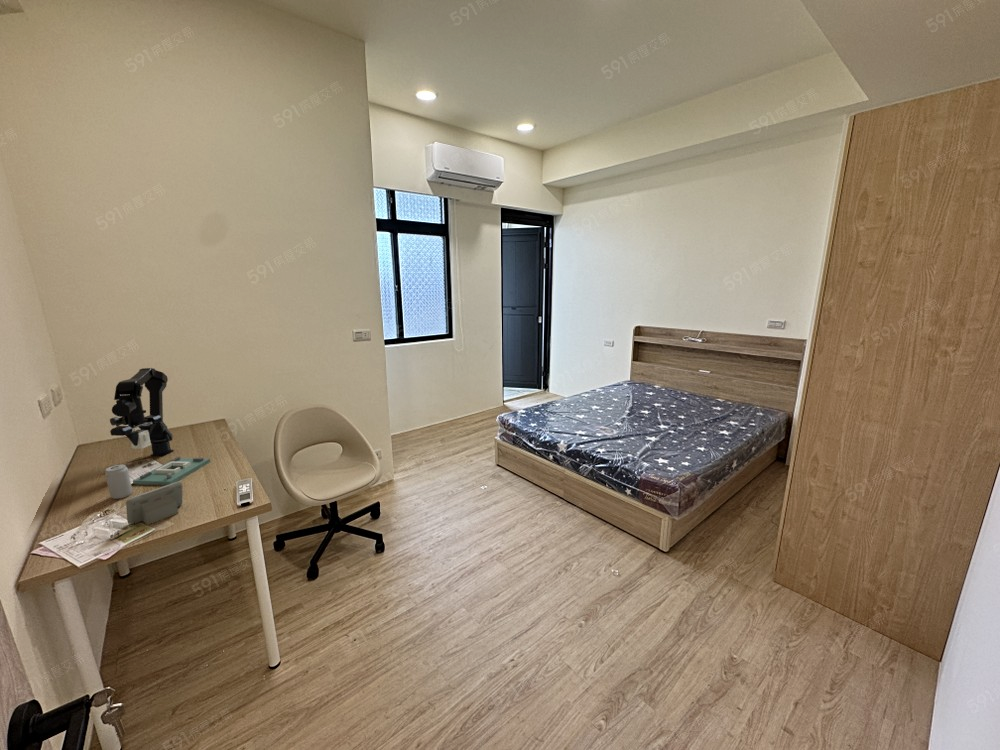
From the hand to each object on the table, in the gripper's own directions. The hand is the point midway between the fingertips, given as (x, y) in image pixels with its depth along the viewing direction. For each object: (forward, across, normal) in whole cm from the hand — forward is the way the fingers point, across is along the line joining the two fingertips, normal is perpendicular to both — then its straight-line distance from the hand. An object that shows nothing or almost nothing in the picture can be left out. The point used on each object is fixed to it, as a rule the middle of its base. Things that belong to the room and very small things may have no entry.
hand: (141, 443), depth 177 cm
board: (+12, +3, +15) cm, 20 cm away
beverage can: (+12, +23, +11) cm, 28 cm away
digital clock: (+12, +35, +37) cm, 53 cm away
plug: (+2, 0, 0) cm, 2 cm away
